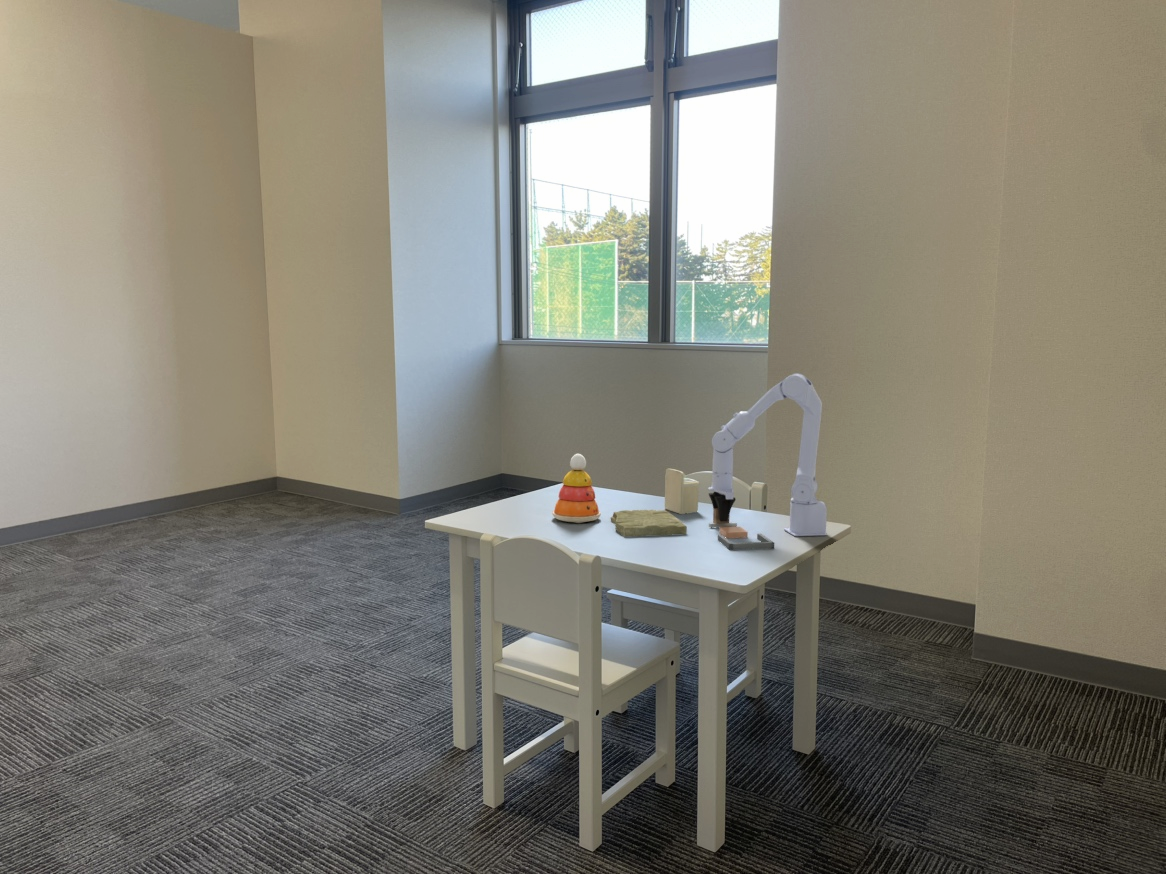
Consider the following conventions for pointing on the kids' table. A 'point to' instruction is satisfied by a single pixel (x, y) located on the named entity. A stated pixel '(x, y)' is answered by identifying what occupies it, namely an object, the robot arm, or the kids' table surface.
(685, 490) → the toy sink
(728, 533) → the terracotta tile
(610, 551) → the kids' table surface
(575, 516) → the stacking toy
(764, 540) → the slate frame
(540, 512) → the kids' table surface
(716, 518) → the walnut scraper
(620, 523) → the decorative tile
